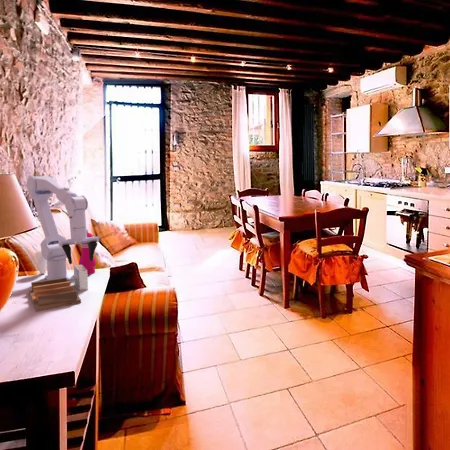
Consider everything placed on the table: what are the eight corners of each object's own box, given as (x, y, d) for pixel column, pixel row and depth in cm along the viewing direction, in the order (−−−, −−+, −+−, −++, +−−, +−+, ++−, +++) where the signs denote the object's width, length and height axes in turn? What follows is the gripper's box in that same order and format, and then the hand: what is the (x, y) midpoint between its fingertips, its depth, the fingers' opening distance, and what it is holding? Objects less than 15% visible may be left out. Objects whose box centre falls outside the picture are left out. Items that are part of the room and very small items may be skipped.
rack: (28, 292, 131) (28, 282, 130) (68, 286, 139) (68, 276, 138) (36, 311, 115) (35, 299, 114) (80, 302, 123) (80, 291, 122)
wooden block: (74, 284, 142) (73, 265, 140) (82, 283, 143) (81, 264, 142) (79, 291, 134) (79, 271, 133) (88, 289, 136) (87, 269, 135)
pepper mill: (79, 271, 159) (77, 228, 156) (96, 269, 162) (94, 227, 159) (78, 275, 153) (76, 230, 149) (96, 274, 155) (94, 230, 152)
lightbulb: (32, 274, 153) (30, 250, 151) (44, 271, 158) (43, 247, 156) (40, 276, 150) (39, 251, 148) (53, 273, 155) (52, 249, 153)
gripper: (59, 230, 127) (62, 266, 129) (100, 226, 135) (102, 261, 137) (56, 228, 133) (59, 263, 134) (95, 225, 141) (97, 258, 143)
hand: (80, 262), depth 136 cm, fingers open, 7 cm apart
